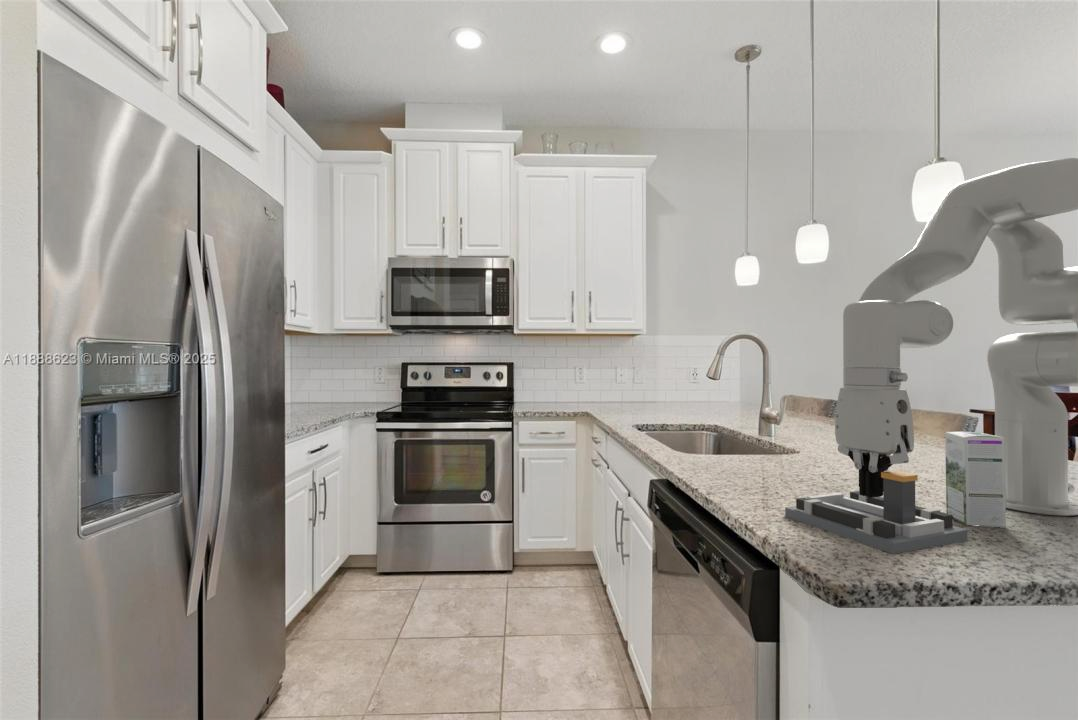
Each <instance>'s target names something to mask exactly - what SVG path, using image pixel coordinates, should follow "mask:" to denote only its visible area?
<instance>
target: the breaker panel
mask: <svg viewBox="0 0 1078 720" xmlns="http://www.w3.org/2000/svg"><path fill="white" fill-rule="evenodd" d="M806 498H807V499H810V500H813V499H817V500H821V501H822V503H824V504H827V505H831V506H834V507H838V508H841V509H844V510H848V511H851V512H855V513H858V514H861V515H865V516H868V517H875V516H876V517H879V518H883V507H881V506H877V505H873V504H870V503H866V502H862V501H859V500H855V499H851V498H850V497H847V496H844V493H840V492H833V493H828V494H818V495H810V496H809V495H808V496H806ZM784 509H785V511H784V513H785V514H784V515H785V517H787V518H788V519H791V520H795V521H798V522H800V523H802V524H806V525H809V526H811V527H814V528H818V529H820V530H822V531H825V532H828V531H829V533H831V534H834V533H835V535H837V536H839V537H840V536H841V537H843V538H845V539H848V538H849V540H851V539H852V541H855V542H857V541H858V543H859V544H863V545H865V546H869V547H871V546H872V547H871V548H874V547H875V548H874V549H877V548H878V549H877V550H880V551H884V552H886V553H889V554H891V555H896V554H901V553H907V552H911V551H912V552H913V551H917V550H922V549H928V548H933V547H937V546H938V547H939V546H943V545H947V544H953V543H954V544H955V543H959V542H964V541H963V540H965V541H968V540H969V537H968V534H969V532H968V531H969V530H968V529H966V528H963V527H960V526H956V525H953V527H951V528H944V521H943V520H940V519H932V520H929V519H926V518H922V517H918V516H915V522H914V523H908V524H903V525H901V524H898V523H894V522H891V521H887V520H884V521H885V522H889V523H892V524H895V537H894V538H888V539H885V538H882V537H879V536H876V535H874V533H872V535H870V534H867V533H864V532H863V530H862V529H859V528H856V529H855V528H852V527H849V526H846V525H842V524H839V523H836V522H833V521H830V520H827V519H824V518H821V517H818V516H815V515H809V514H806V513H804V511H803V510H800V509H797V508H796V505H794V506H787V507H785V508H784ZM967 539H968V540H967Z"/></svg>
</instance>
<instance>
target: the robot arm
mask: <svg viewBox="0 0 1078 720" xmlns="http://www.w3.org/2000/svg"><path fill="white" fill-rule="evenodd" d="M1077 210H1078V157H1077V158H1076V157H1068V158H1067V157H1066V158H1059V159H1052V160H1045V161H1037V162H1036V161H1035V162H1030V163H1023V164H1019V165H1014V166H1011V167H1007V168H1004V169H1001V170H997V171H994V172H991V173H988V174H984V175H981V176H978V177H975V178H972V179H971V178H970V179H968V180H965V181H963V182H960V183H957V184H956V185H955V184H954V186H951V187H950V188H949V189H948V190H946V192H945V193H944V194H943V195H942V196H941V198H940V200H939V202H938V203H937V205H936V207H935V209H934V211H933V212H932V215H931V216H930V218H929V219H928V221H927V223H926V225H925V227H924V229H923V231H922V233H921V234H920V236H919V238H918V239H917V242H916V244H915V245H914V246H913V248H912V249H911V250H910V251H908V252H907V253H906V254H904V255H903V256H902V257H900V258H899V259H897V261H895V262H893V264H891V265H890V266H889V267H887V269H885V270H884V271H882V272H881V273H880V274H879V275H878V276H876V277H875V278H874V279H873V280H872V282H870V283H869V284H868V286H867V287H866V288H865V290H864V291H863V293H862V294H861V296H860V298H859V300H858V301H855V302H851V303H849V304H848V305H846V306H845V307H844V309H843V313H842V314H843V315H842V317H843V318H842V322H843V323H842V325H843V328H842V329H843V331H842V337H843V339H842V341H843V343H842V345H843V346H842V351H843V353H842V357H843V358H842V359H843V362H842V363H843V364H842V365H843V373H842V375H843V376H842V377H843V379H842V380H843V383H842V386H843V387H841V386H840V389H839V392H838V397H837V402H836V408H835V409H836V410H835V418H834V419H835V420H834V422H835V423H834V435H835V441H836V444H838V446H837V451H838V452H839V453H841V454H842V455H844V456H847V457H849V458H850V460H852V462H853V463H854V468H855V469H856V470H858V487H859V494H860V495H862V496H867V497H870V498H872V497H883V478H881V472H888V470H889V468H890V467H892V466H893V465H897V464H898V465H899V464H908V463H909V462H910V459H909V455H908V453H912V452H913V451H914V450H915V449H914V448H915V433H914V422H913V414H912V408H911V403H910V398H909V395H908V391H907V389H906V388H903V389H902V388H901V385H902V383H903V382H907V381H908V379H909V378H908V376H909V375H908V374H907V373H906V372H901V371H902V369H901V349H920V348H921V349H923V348H930V347H933V346H937V345H939V344H941V343H943V342H944V341H945V340H947V339H948V338H949V337H950V335H951V333H952V331H953V328H954V319H953V316H952V314H951V311H950V310H949V309H948V308H947V307H946V306H944V305H943V304H941V303H939V302H937V301H933V300H924V299H923V300H913V301H912V300H911V301H908V300H909V299H911V298H913V297H914V296H916V295H918V294H920V293H923V292H924V291H926V290H928V289H931V288H933V287H935V286H938V285H940V284H943V283H945V282H947V281H949V280H951V279H954V278H956V277H957V276H958V275H961V274H962V273H964V272H965V271H967V270H969V268H970V267H971V266H972V265H973V263H974V261H975V260H976V257H977V255H978V253H979V252H980V249H981V247H982V245H983V243H984V242H985V240H986V238H987V237H988V238H989V239H990V241H991V242H992V243H993V245H994V247H995V250H996V252H997V258H998V261H997V262H998V309H999V314H1000V317H1001V318H1002V320H1003V321H1005V322H1007V323H1009V324H1012V325H1015V326H1019V325H1020V326H1035V325H1036V326H1039V325H1057V324H1059V325H1060V324H1073V323H1075V324H1076V326H1077V329H1078V266H1072V267H1066V268H1065V266H1064V244H1063V241H1062V239H1061V237H1060V236H1059V235H1058V234H1057V232H1055V231H1054V230H1053V229H1051V228H1050V227H1049V226H1048V225H1046V224H1044V223H1043V222H1041V221H1039V220H1038V219H1041V218H1045V217H1046V218H1047V217H1050V216H1051V217H1052V216H1055V215H1059V214H1065V213H1069V212H1073V211H1077ZM986 358H987V359H986V360H987V367H988V369H989V373H990V379H991V382H992V387H993V388H992V389H993V395H994V436H1000V437H1004V452H1005V500H1006V509H1008V510H1009V509H1010V510H1013V511H1019V512H1025V513H1031V514H1039V515H1047V516H1061V517H1062V516H1063V517H1064V516H1065V517H1068V516H1069V517H1070V516H1073V517H1074V516H1078V504H1077V503H1075V502H1073V501H1069V494H1072V493H1074V491H1075V486H1074V484H1072V483H1070V482H1069V427H1068V426H1069V414H1068V410H1067V407H1066V405H1065V403H1064V402H1063V401H1062V399H1061V398H1060V397H1059V395H1058V394H1057V393H1055V391H1054V390H1053V389H1052V388H1051V387H1055V386H1056V387H1078V330H1065V331H1064V330H1063V331H1062V330H1060V331H1035V332H1033V331H1032V332H1020V333H1013V334H1008V335H1005V336H1001V337H1000V338H998V339H996V340H995V341H994V342H992V344H991V345H990V347H989V348H988V351H987V357H986Z"/></svg>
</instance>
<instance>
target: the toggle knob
mask: <svg viewBox="0 0 1078 720" xmlns="http://www.w3.org/2000/svg"><path fill="white" fill-rule="evenodd" d="M881 478H883V496H882V498H883V519H884V520H887V521H891V522H894V523H898V524H901V525H903V524H908V523H914V522H915V506H916V481H918V480H919V479H918V478H919V476H918V474H915V473H909V472H904V471H899V470H890V471H888V470H887V471H884V472H881Z"/></svg>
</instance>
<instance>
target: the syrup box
mask: <svg viewBox="0 0 1078 720" xmlns="http://www.w3.org/2000/svg"><path fill="white" fill-rule="evenodd" d="M944 435H945V436H944V441H945V442H944V443H945V450H944V451H945V454H944V455H945V456H944V457H945V500H946V501H945V504H946V505H945V506H946V507H945V509H946V512H945V513H946V514H950V515H953V518H954V519H953V520H954V521H955V520H956V521H958V522H959V521H960V522H959V523H962V524H964V525H965V524H966V525H965V526H968V525H979V526H991V527H990V528H994V527H1000V528H1001V529H1002V528H1003V529H1006V528H1007V515H1006V513H1007V511H1006V510H1007V508H1006V500H1005V452H1004V437H1000V436H995V434H994V435H993V434H989V433H983V432H977V431H964V430H963V431H945V433H944Z"/></svg>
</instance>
